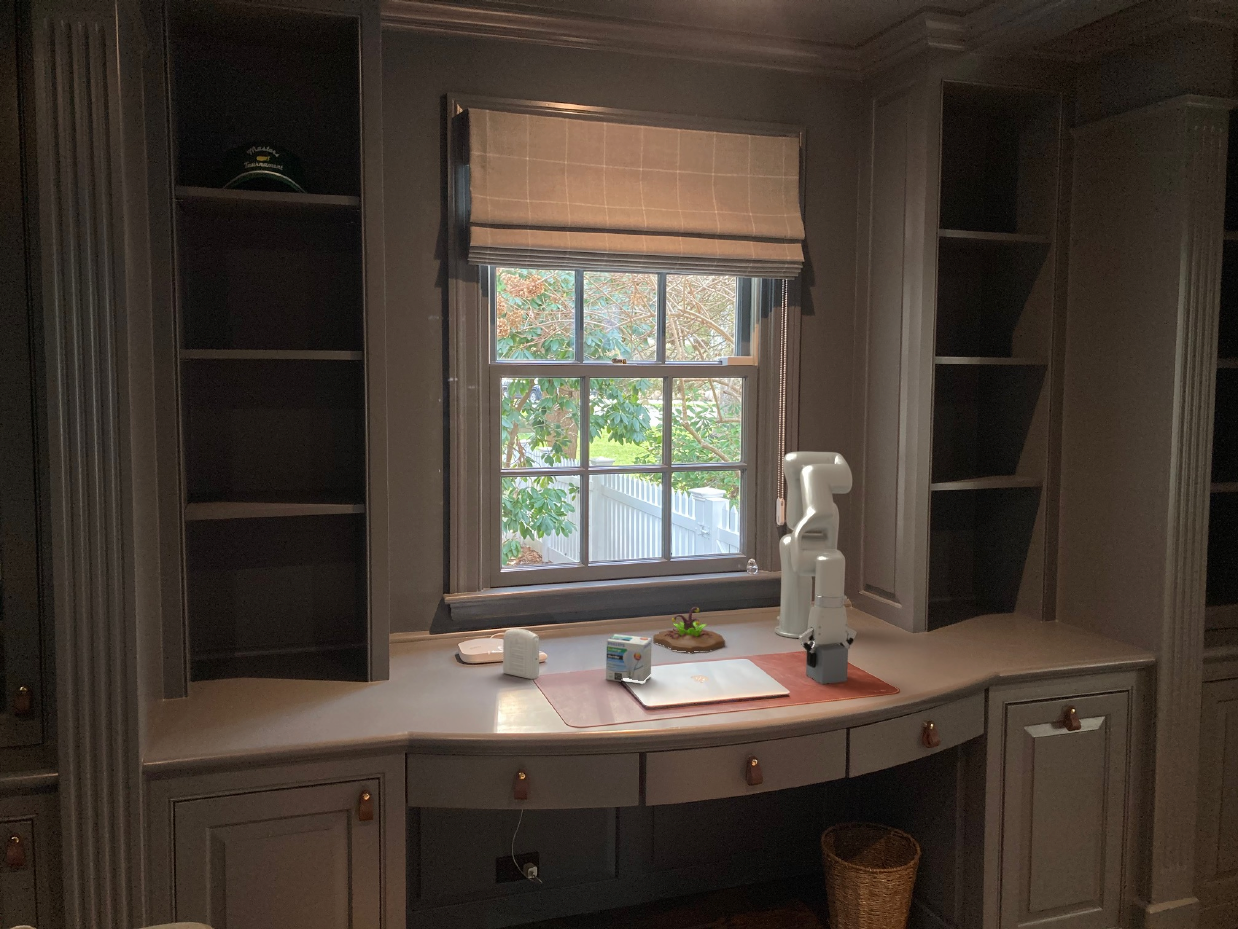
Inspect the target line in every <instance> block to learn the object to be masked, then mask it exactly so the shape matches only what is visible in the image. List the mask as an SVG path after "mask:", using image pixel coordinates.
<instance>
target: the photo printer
mask: <svg viewBox="0 0 1238 929" xmlns="http://www.w3.org/2000/svg"><path fill="white" fill-rule="evenodd" d="M502 648H503V649H502V652H503V653H502V654H503V655H502V658H503V659H502V671H503V673H504V674H506V675H511V676H516V677H520V678H525V679H528V680H529V679H530V680H534V679H537V678H538V677H539V674H540V638H539V635H538V634H536V633H534V632H532V631H531V630H528V629H522V628H511V629H508V630H507V629H506V631H505V632H504V634H503V647H502Z"/></svg>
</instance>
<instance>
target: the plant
mask: <svg viewBox="0 0 1238 929" xmlns="http://www.w3.org/2000/svg"><path fill="white" fill-rule="evenodd" d="M693 611H694V612H695V613H699V612H700V609H699V607H698V606H694V607H692V608H691V609H690V610H689V613H688V619H687V618H686V617H685V616H684V615H682V614H677V615H674V616H673V617H672V618H671V621H672V622H673V625H674V626H675V629H674V628H672V629H670V630H669V629H667V630H664V631H658V633H656V634H653V637H652V641H654V642H655V643H658V644H661V645H664V646H666V647H669V648H671V650H677V651H686V652H690V653H692V652H694V651H709V652H711V651H710V650H712V651H715V649H716V650H718V648H719V649H722V648H724V647H726V640H725V639H724V637H723V635H721V634H719V633H717V632H715V631H713V630H707V629H704V627H706V626H707V623H703V624H702V623H700V622H701V621H700V620H699V619H698V618H693ZM677 617H679V618H681V619H682V621H679V624H678V623H674V622H676V620H677ZM654 642H653V643H654ZM655 643H654V644H655ZM666 647H665V648H666ZM671 650H670V651H671ZM692 654H693V653H692Z"/></svg>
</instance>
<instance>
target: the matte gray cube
mask: <svg viewBox="0 0 1238 929" xmlns="http://www.w3.org/2000/svg"><path fill="white" fill-rule="evenodd" d="M812 646H813V645H812ZM814 652H815V653H816V667H815V668H812V667H811V666H809V665H807V657H806V661H805V662H806V663H805V664H806V665H805V668H806V669H805V676H806V675H808V676H807V677H809V678H810V677H811V678H810V679H812V678H813V679H814V681H815V680H816V681H815V682H817V683H818V684H821V685H828V684H827V683H829V684H835V683H836V684H837V683H842V682H843V683H844V682H848V667H849V666H848V663H849V662H848V660H849V659H848V658H849V649H848V648H846V647H844V646H841V645H840V644H830V645H819V646H818V647H817V649H816V650H815V651H814ZM813 679H812V680H813Z"/></svg>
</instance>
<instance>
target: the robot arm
mask: <svg viewBox="0 0 1238 929" xmlns="http://www.w3.org/2000/svg"><path fill="white" fill-rule="evenodd" d="M782 461H783V462H782V469H783V474H784V477H785V479H786V482H787V483H786V484H787V496H786V497H787V498H786V512H785V513H786V514H785V515H786V517H785V519H786V525H787V527H788V528H789V529H790V530H792V533H787V534H785V535H783V536H782V537H781V538H780V540H779V544H778V545H779V558H780V566H781V569H780V572H781V576H780V578H781V580H780V583H781V585H780V608H779V609H780V612H779V613H780V614H779V615H778V616H777V617H776V620H777V621H779V624H778V625H777V626H775V627H774V632H775V634H777V635H778V636H782V637H787V638H790V639H791V638H793V639H799V642H800V643H801V644H800V645H801V646H802V647H803V649H805V650H804V651H806V658H807V665H809V666H811V667H812V668H815V667H816V653H815V652H814V651H815V650H816V649H817V647H818V646H819V645H830V644H839V645H841V646H844V647H846V648H848V650H849V649H850V647H851V645H852V644H853V642H854V639H855V637H856V635H857V633H858V632H857V631H856V630H854V629H852V628H851V627H848V615H847V609H846V606H845V605H844V604H845V601H847V600H848V596H847V595H845V580H846V579H845V573H846V558H845V556H844V555H843V553H842V552H841V550H839V549H838V540H839V539H838V538H839V528H840V526H839V524H840V514H839V509H838V506H837V504H836V503H835V502H834V498H833V494H847V493H849V492H850V491H851V489H852V486H853V475H852V471H851V468H850V466H849V464H848V462H847V461H846V459H845V458H844V456H843V455H842V454H840V453H838V452H835V451H834V452H833V451H831V452H830V451H792V452H788V453H786V454H785V455H784V457H783V460H782ZM806 532H807V533H806ZM809 532H821V533H809ZM812 577H815V578H814V580H815V582H814V583H815V584H814V605H812V600H813V598H812V597H813V593H812V592H813V579H812ZM812 645H813V646H812Z"/></svg>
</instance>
